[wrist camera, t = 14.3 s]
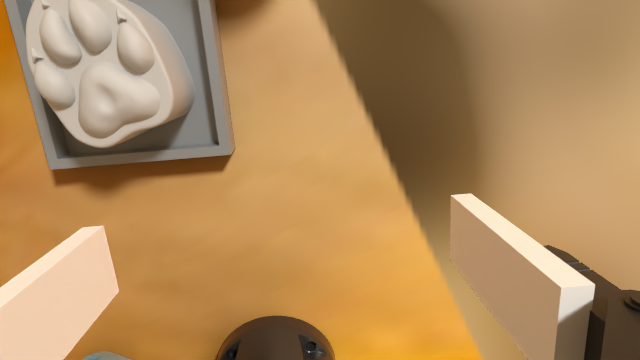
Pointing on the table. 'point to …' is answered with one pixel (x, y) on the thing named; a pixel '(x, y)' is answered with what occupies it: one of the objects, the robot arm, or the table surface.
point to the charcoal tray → (164, 140)
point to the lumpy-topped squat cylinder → (106, 68)
